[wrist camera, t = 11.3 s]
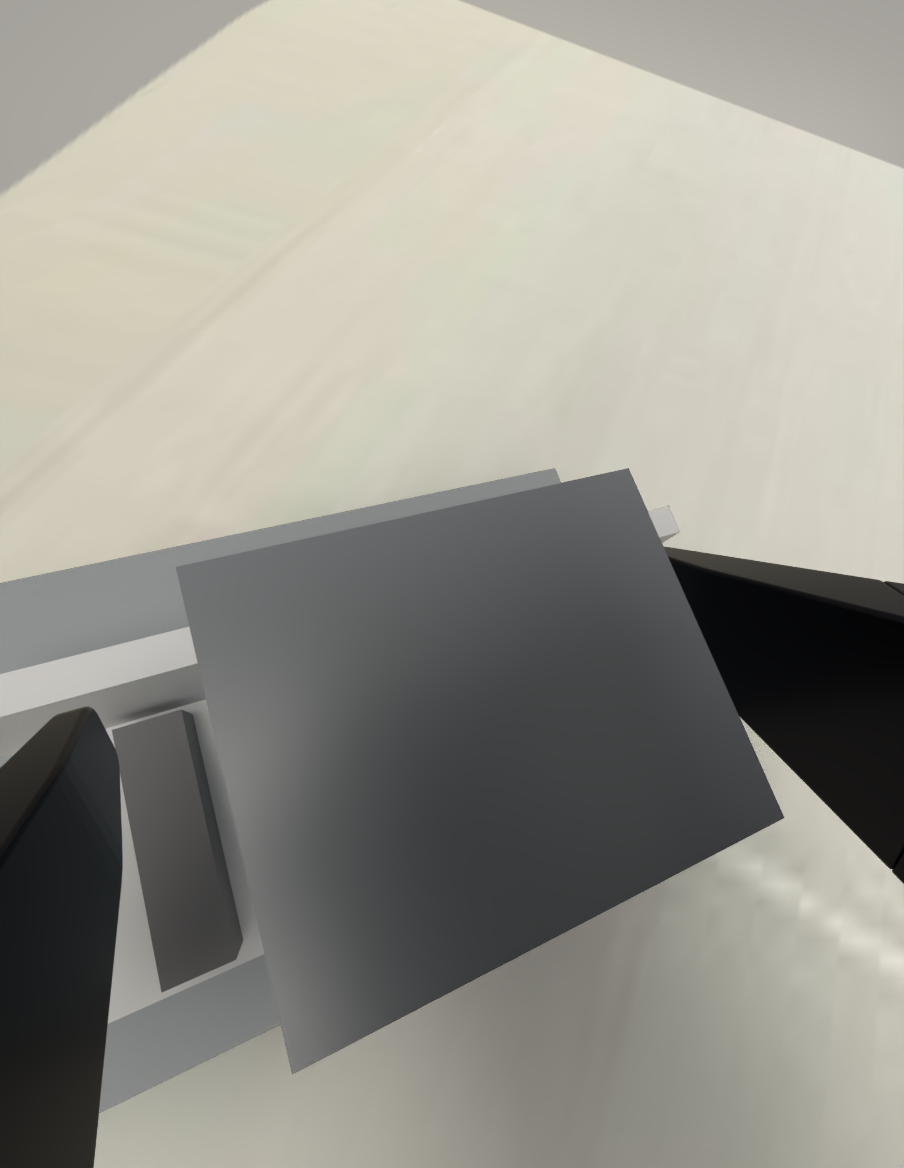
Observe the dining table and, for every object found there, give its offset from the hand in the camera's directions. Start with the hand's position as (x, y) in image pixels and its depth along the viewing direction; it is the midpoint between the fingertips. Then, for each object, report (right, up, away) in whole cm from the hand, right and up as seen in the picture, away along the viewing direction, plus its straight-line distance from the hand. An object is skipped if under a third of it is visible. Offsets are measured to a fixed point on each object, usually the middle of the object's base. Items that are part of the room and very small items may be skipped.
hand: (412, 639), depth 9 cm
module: (-2, -4, +8) cm, 9 cm away
